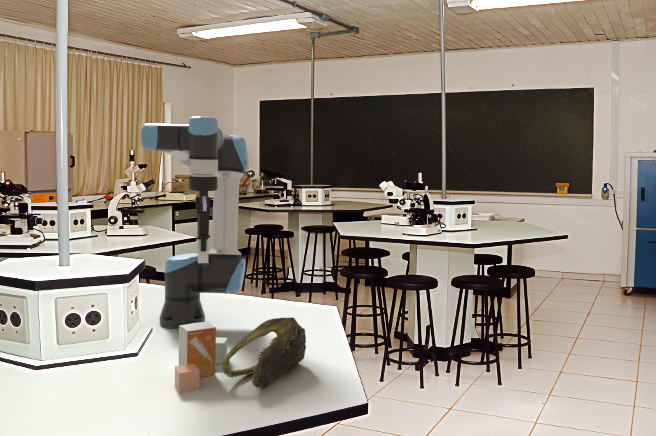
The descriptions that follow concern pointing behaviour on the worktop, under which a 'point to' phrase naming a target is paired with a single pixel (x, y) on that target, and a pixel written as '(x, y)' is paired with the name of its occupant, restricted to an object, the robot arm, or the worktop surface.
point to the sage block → (221, 350)
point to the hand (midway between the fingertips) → (202, 262)
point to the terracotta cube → (186, 378)
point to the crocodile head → (272, 351)
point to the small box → (198, 347)
